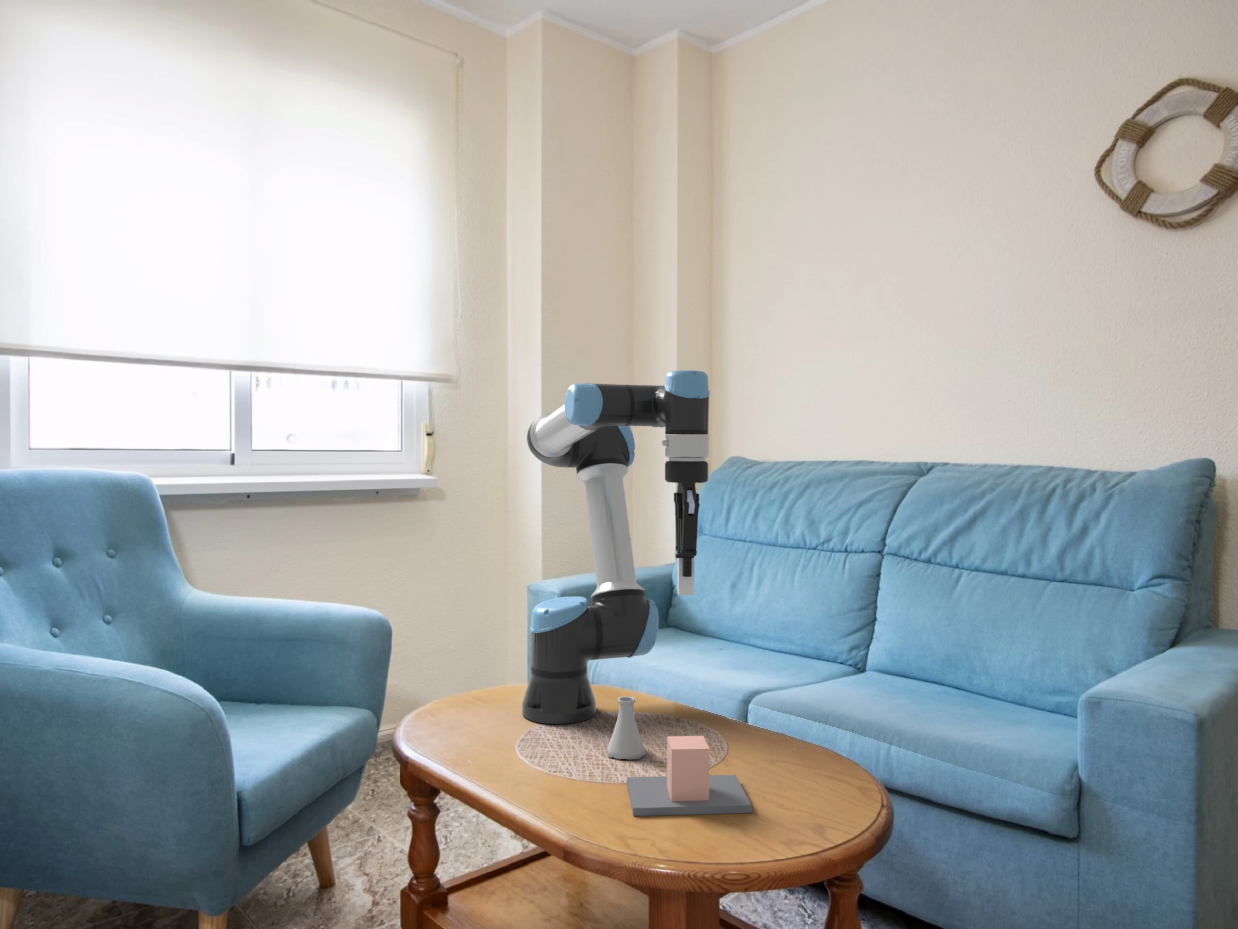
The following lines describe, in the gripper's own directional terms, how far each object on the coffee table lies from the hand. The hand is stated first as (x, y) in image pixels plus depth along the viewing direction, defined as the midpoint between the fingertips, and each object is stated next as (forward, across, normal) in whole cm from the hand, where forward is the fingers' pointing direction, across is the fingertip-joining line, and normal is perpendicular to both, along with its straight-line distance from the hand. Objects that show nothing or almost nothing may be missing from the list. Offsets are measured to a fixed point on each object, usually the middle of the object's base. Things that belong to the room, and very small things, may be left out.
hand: (685, 594), depth 153 cm
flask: (+30, -4, -10) cm, 32 cm away
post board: (+29, +16, -2) cm, 34 cm away
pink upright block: (+28, +17, -2) cm, 33 cm away
